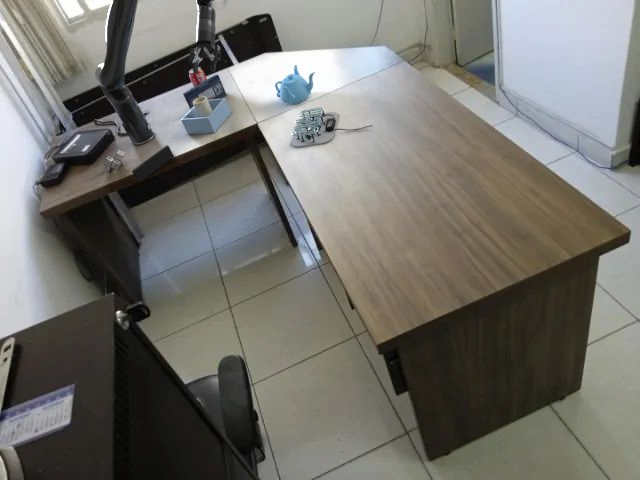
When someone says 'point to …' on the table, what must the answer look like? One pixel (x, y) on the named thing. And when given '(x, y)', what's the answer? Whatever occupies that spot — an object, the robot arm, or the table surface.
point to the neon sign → (315, 128)
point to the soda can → (197, 77)
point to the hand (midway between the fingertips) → (204, 72)
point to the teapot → (294, 88)
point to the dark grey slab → (153, 163)
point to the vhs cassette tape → (206, 90)
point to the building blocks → (113, 161)
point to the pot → (202, 106)
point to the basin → (207, 118)
